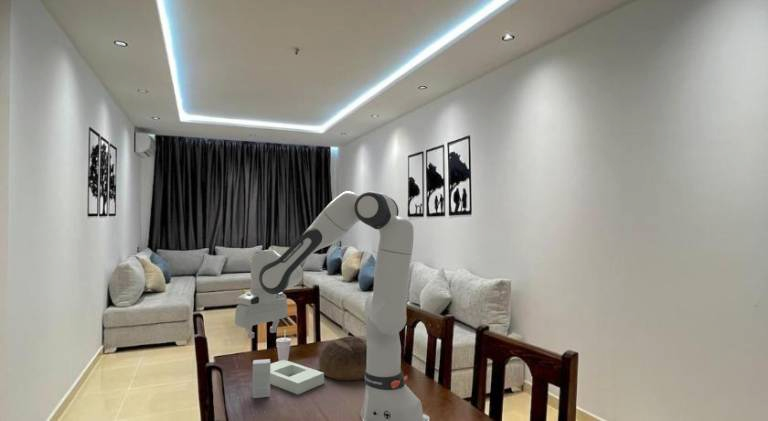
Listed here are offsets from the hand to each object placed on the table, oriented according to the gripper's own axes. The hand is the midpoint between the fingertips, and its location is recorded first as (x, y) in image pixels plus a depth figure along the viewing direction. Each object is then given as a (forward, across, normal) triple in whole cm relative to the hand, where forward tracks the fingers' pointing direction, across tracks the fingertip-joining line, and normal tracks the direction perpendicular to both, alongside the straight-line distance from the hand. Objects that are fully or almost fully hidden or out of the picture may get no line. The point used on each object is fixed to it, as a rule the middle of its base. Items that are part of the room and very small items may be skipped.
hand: (262, 335), depth 154 cm
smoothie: (+21, -27, -20) cm, 40 cm away
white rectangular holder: (+21, -15, -2) cm, 26 cm away
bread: (+21, -39, +8) cm, 45 cm away
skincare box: (+21, 0, 0) cm, 21 cm away
